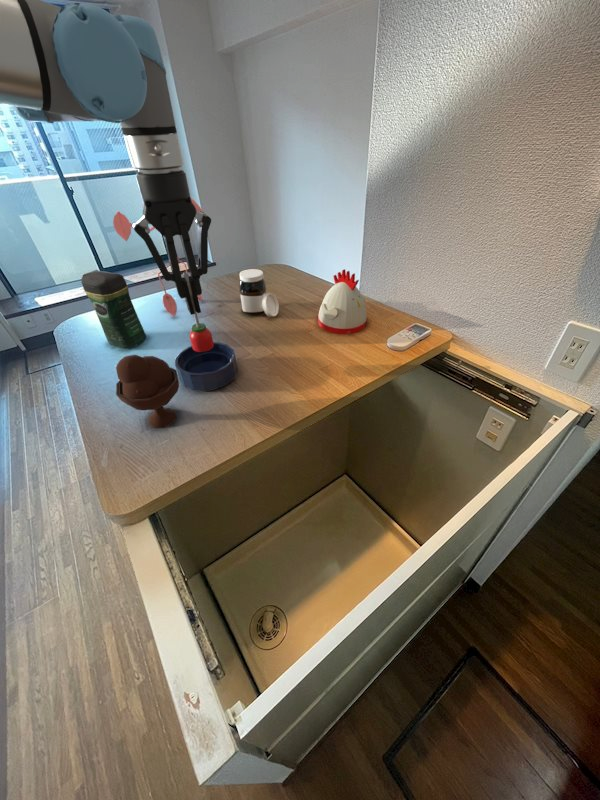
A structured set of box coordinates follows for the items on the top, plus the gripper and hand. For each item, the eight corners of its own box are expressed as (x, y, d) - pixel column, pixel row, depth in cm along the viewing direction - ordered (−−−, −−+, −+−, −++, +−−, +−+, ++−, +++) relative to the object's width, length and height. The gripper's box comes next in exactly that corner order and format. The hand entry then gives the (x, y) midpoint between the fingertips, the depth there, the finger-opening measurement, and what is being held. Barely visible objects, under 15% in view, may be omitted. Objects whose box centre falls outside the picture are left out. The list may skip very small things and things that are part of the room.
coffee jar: (152, 338, 90) (128, 269, 78) (130, 352, 85) (100, 281, 72) (126, 331, 93) (99, 264, 81) (103, 344, 88) (71, 275, 75)
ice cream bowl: (160, 446, 60) (131, 383, 50) (122, 424, 65) (89, 362, 55) (201, 412, 67) (183, 350, 57) (164, 394, 71) (141, 334, 62)
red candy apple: (195, 354, 69) (175, 279, 59) (190, 344, 72) (170, 271, 62) (216, 348, 71) (200, 275, 60) (210, 339, 74) (194, 267, 63)
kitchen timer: (343, 339, 88) (348, 285, 78) (308, 321, 96) (308, 270, 86) (375, 322, 95) (383, 270, 85) (340, 307, 103) (344, 257, 93)
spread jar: (244, 304, 105) (239, 267, 98) (279, 303, 106) (277, 266, 98) (240, 321, 96) (235, 282, 89) (279, 320, 97) (276, 281, 89)
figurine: (141, 321, 97) (90, 181, 74) (204, 291, 114) (178, 169, 91) (176, 334, 91) (132, 187, 68) (237, 301, 107) (218, 172, 84)
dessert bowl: (168, 382, 75) (162, 364, 71) (206, 354, 84) (202, 337, 80) (213, 399, 70) (209, 381, 67) (248, 367, 79) (246, 350, 75)
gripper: (114, 176, 46) (163, 326, 61) (209, 169, 50) (232, 311, 66) (110, 170, 51) (156, 311, 66) (197, 164, 55) (221, 297, 71)
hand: (194, 310), depth 66 cm, fingers closed on red candy apple
